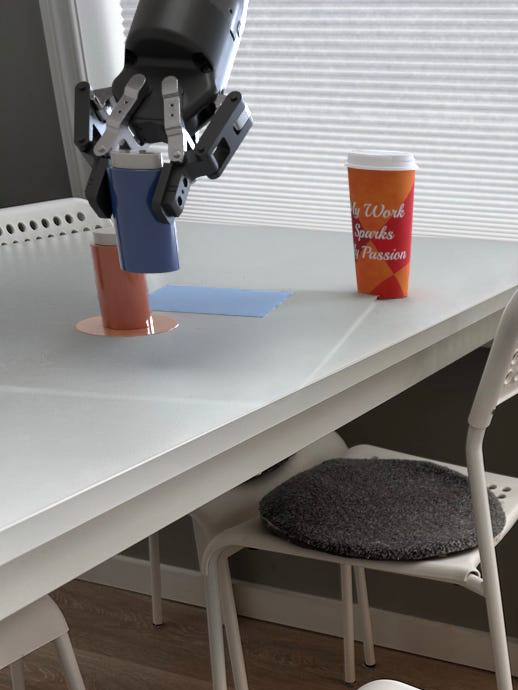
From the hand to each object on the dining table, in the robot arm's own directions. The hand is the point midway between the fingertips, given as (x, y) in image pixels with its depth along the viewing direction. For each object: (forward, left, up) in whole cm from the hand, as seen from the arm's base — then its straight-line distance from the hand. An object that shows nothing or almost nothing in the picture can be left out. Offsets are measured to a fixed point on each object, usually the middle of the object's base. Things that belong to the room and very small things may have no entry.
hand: (130, 213), depth 69 cm
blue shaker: (0, +2, -4) cm, 5 cm away
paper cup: (+12, +36, -12) cm, 40 cm away
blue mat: (-4, +26, -12) cm, 29 cm away
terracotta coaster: (-8, +14, -12) cm, 20 cm away
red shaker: (-8, +14, -11) cm, 19 cm away
